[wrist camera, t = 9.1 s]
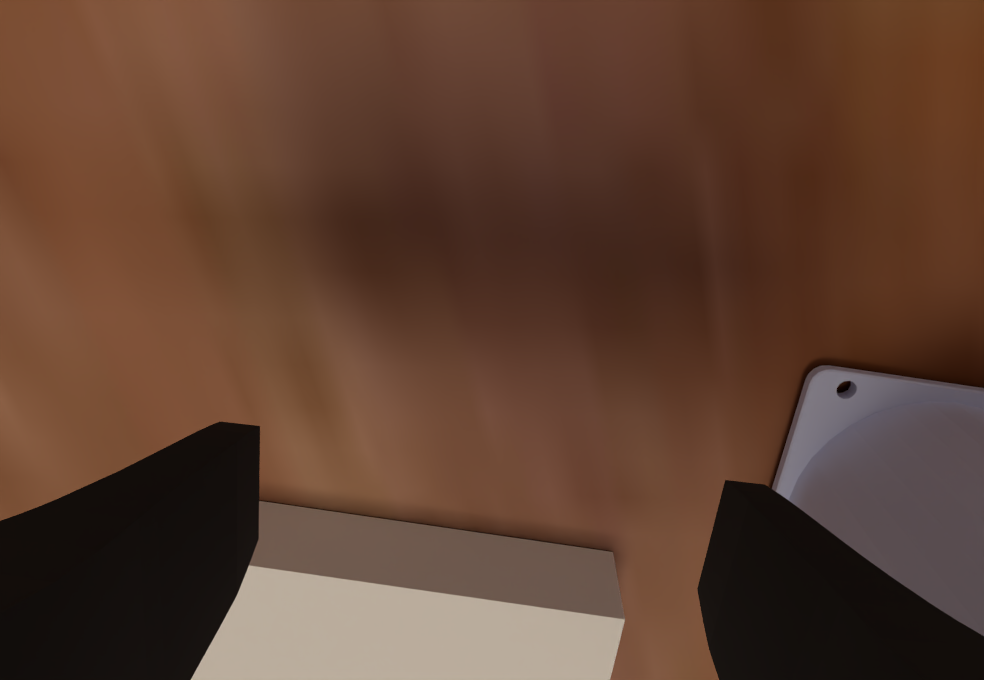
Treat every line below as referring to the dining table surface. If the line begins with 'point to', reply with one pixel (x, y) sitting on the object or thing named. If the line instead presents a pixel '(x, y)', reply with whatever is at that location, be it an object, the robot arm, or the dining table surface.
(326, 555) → the key housing
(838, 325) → the dining table surface
